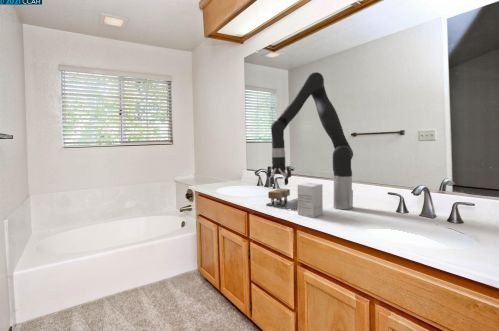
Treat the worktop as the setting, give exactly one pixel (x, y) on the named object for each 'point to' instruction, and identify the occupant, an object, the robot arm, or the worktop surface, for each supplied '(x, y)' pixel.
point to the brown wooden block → (278, 193)
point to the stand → (292, 204)
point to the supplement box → (310, 199)
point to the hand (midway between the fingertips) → (279, 184)
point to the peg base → (278, 202)
